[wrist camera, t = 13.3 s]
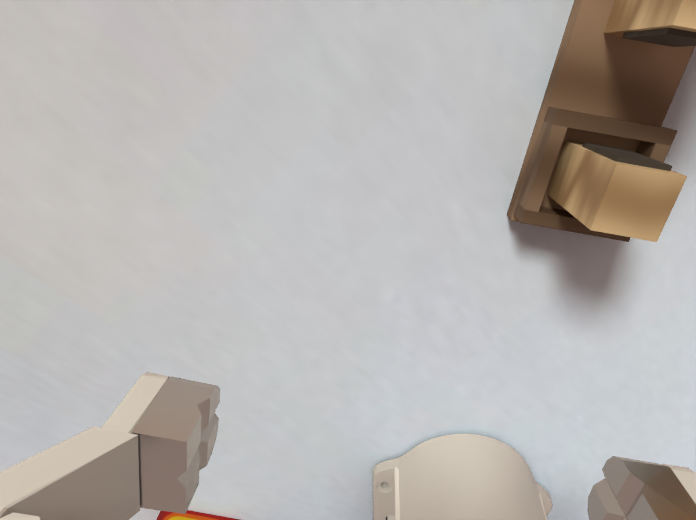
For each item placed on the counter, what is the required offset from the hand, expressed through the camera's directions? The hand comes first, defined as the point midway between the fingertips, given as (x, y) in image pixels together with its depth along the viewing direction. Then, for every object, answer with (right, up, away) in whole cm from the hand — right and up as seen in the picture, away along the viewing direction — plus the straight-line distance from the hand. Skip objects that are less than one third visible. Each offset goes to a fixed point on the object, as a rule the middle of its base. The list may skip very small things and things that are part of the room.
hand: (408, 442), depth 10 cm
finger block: (+16, +10, +24) cm, 31 cm away
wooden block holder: (+17, +15, +24) cm, 33 cm away
